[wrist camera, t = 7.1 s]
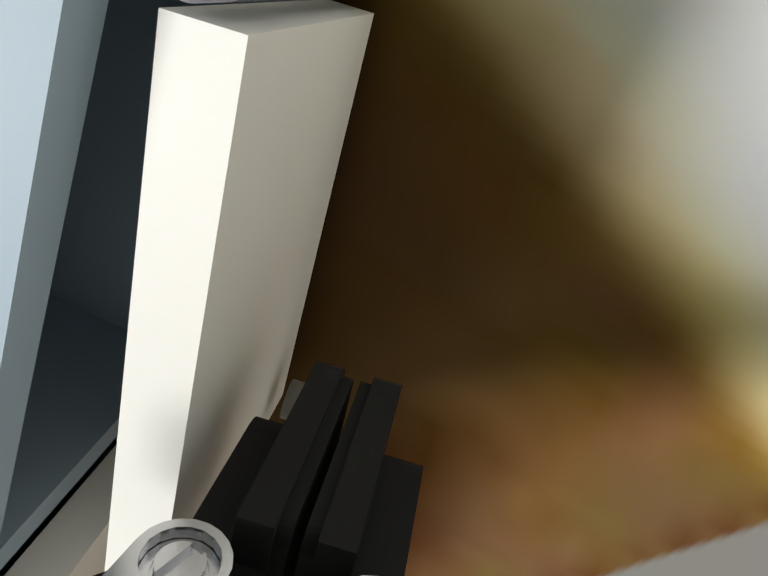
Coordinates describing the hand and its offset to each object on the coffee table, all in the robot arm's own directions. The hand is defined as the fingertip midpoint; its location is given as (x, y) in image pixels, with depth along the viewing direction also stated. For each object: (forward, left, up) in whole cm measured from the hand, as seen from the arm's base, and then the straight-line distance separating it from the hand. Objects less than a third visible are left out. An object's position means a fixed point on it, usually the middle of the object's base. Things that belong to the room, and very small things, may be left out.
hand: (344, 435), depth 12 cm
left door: (-2, -2, -5) cm, 6 cm away
